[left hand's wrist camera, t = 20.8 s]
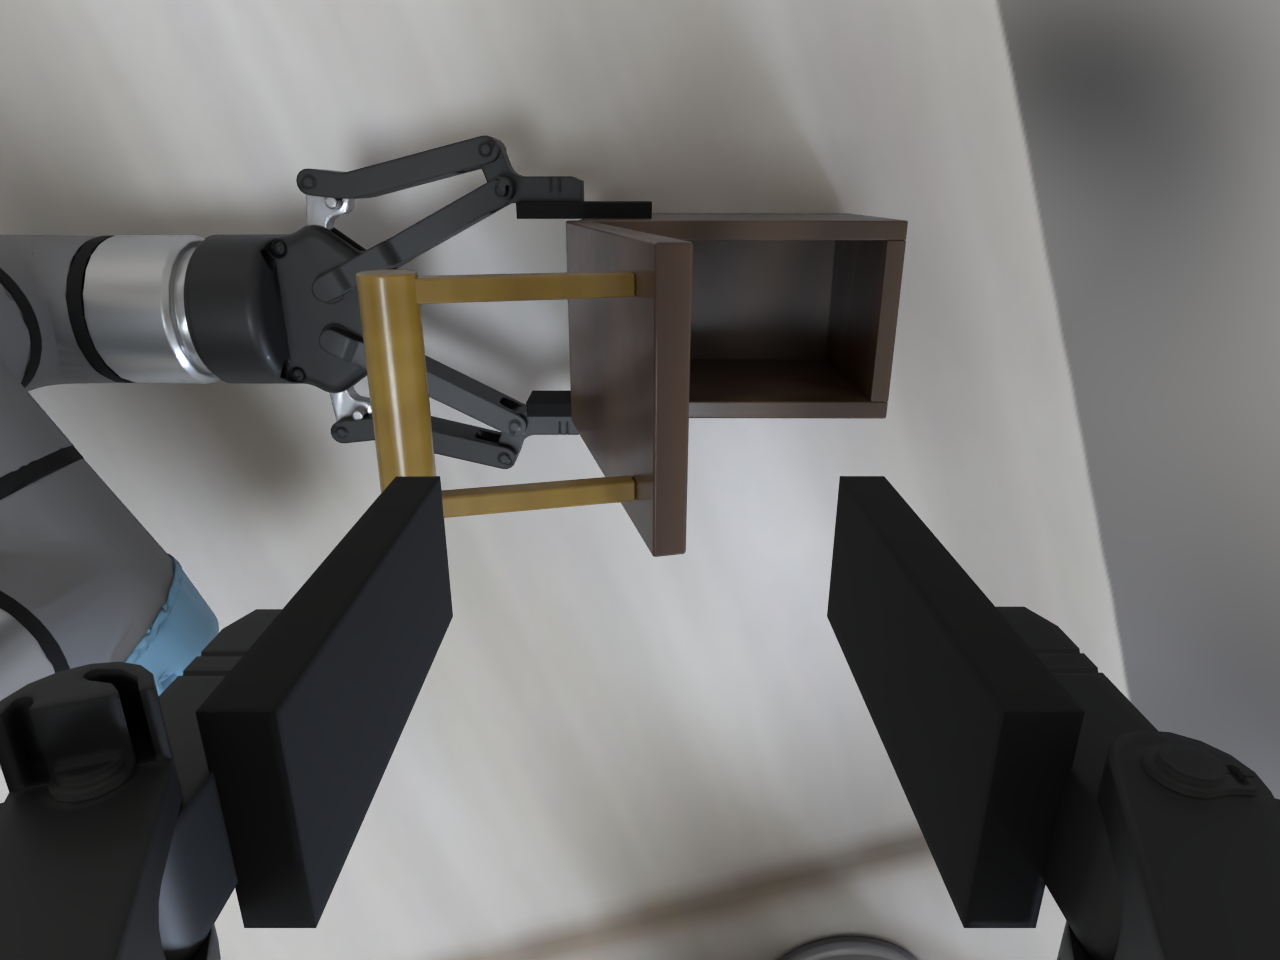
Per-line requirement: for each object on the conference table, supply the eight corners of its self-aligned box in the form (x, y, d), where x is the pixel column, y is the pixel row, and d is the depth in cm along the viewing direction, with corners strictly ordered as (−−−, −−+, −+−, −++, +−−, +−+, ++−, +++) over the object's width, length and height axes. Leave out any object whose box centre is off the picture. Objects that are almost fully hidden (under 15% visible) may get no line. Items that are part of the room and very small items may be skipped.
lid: (693, 241, 21) (342, 246, 19) (686, 554, 24) (383, 586, 22) (589, 220, 35) (379, 222, 33) (593, 420, 38) (402, 433, 36)
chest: (848, 213, 46) (908, 220, 36) (835, 370, 49) (886, 418, 39) (593, 213, 46) (578, 220, 36) (595, 369, 49) (583, 418, 39)
